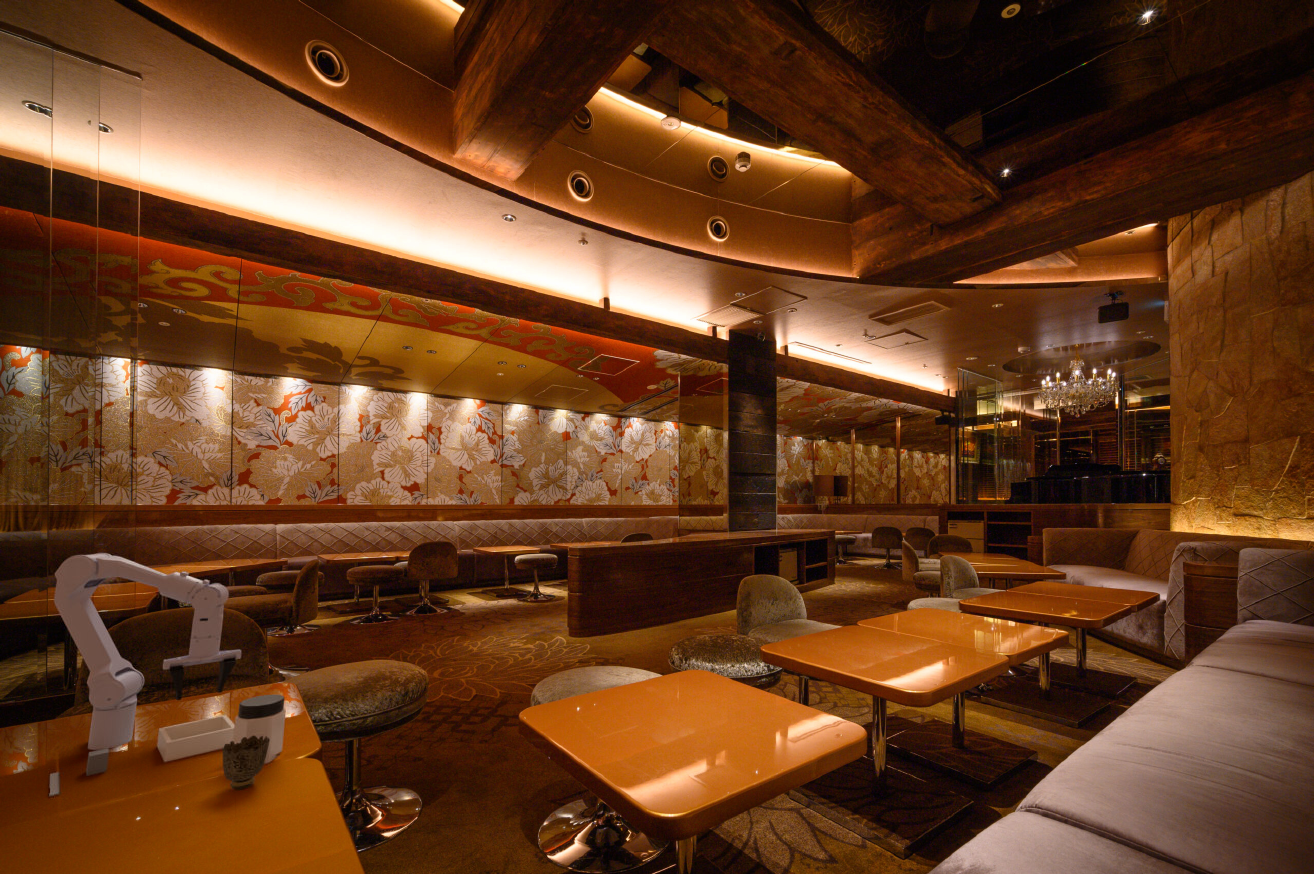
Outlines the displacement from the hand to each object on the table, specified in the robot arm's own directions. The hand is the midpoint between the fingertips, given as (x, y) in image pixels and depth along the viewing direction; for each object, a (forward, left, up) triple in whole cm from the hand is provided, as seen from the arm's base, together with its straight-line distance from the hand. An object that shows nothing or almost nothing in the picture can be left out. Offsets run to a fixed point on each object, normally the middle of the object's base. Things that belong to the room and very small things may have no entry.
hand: (199, 695), depth 133 cm
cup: (+38, +2, -10) cm, 39 cm away
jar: (+25, +7, -10) cm, 28 cm away
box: (+9, -1, -9) cm, 13 cm away
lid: (+11, -17, -10) cm, 22 cm away
